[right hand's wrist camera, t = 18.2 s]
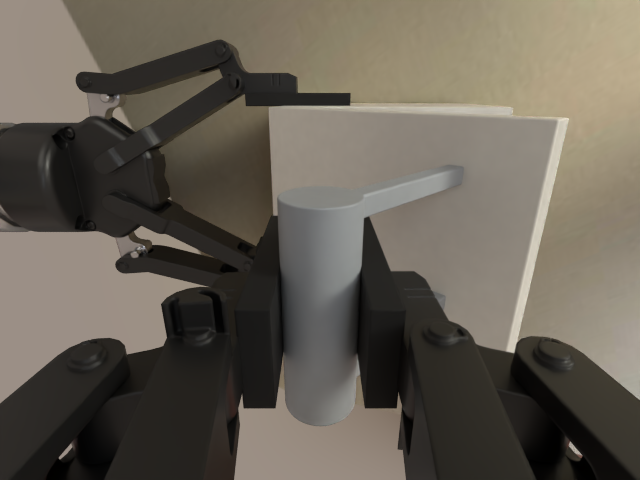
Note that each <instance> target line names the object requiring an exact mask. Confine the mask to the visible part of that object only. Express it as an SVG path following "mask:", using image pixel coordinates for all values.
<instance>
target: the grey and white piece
mask: <svg viewBox="0 0 640 480" xmlns="http://www.w3.org/2000/svg"><path fill="white" fill-rule="evenodd" d="M268 110H269V132H270V153H271V175H272V197H273V216H278V234H279V258H280V280H281V304H282V328H283V355H284V379H285V401H286V405H287V408H288V410H289V412H290V413H291V414H292V415H293V416H294V417H295V418H296V419H298V420H299V421H301V422H303V423H306V424H309V425H314V426H327V425H332V424H335V423H338V422H340V421H342V420H343V419H345V418H346V417H347V416H348V415H349V414H350V413H351V411H352V410H353V408H354V405H355V397H356V377H358V376H359V375H360V369H359V362H358V355H357V346H358V324H359V302H360V280H361V267H362V248H363V226H364V218H366V217H370V220H371V222H372V225H373V227H374V230H375V232H376V235H377V237H378V240H379V242H380V245H381V247H382V250H383V252H384V255H385V258H386V260H387V263H388V265H389V268H390V270H391V271H415V272H416V273H418V274H419V275H421V276H422V277H423V278H425V279H426V281H427V282H428V284H429V286H430V288H431V290H432V291H433V293H434V295H435V298H437V300H438V302H439V304H440V306H441V307H442V309H443V311H444V313H445V314H446V316H447V318H448V320H449V321H451V322H454V323H457V324H459V325H460V326H462V327H463V328H465V329H466V330H468V331H469V333H470V334H471V335H472V337H473V339H474V341H475V343H476V344H477V345H480V346H484V347H487V348H491V349H496V350H501V351H506V352H511V353H514V351H515V347H516V344H517V340H518V335H519V331H520V327H521V323H522V318H523V314H524V310H525V305H526V301H527V297H528V293H529V288H530V284H531V280H532V275H533V271H534V267H535V263H536V258H537V254H538V250H539V245H540V241H541V237H542V233H543V228H544V224H545V220H546V215H547V211H548V207H549V203H550V198H551V194H552V190H553V186H554V181H555V177H556V173H557V168H558V164H559V160H560V156H561V151H562V147H563V143H564V138H565V134H566V130H567V126H568V121H569V119H568V118H566V117H540V116H515V115H489V114H463V113H437V112H412V111H386V110H360V109H334V108H308V107H269V108H268Z"/></svg>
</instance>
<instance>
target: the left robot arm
mask: <svg viewBox="0 0 640 480" xmlns="http://www.w3.org/2000/svg"><path fill="white" fill-rule="evenodd" d="M217 69H220V72H221V74H222V76H223V78H222V79H220V80H219V81H217V82H215V83H214V84H212V85H211V86H209V87H208V88H206V89H205V90H203V91H202V92H200V93H198V94H197V95H195V96H194V97H192V98H191V99H189V100H188V101H186V102H184V103H183V104H181V105H180V106H178V107H177V108H175V109H174V110H172V111H171V112H169V113H167V114H166V115H164V116H163V117H161V118H160V119H158V120H157V121H155V122H154V123H152V124H150V125H149V126H147V127H144V128H142V129H140V130H139V131H137V132H135V131H133V130H132V129H130V128H129V127H127V126H126V125H124V124H123V123H121V122H120V121H118V120H117V119H115V118H114V117H112V113H113V110H114V109H115V108H117V107H121V106H123V105H124V104H125V103H126V100H127V97H126V95H132V94H140V93H144V92H147V91H150V90H154V89H157V88H160V87H163V86H166V85H170V84H173V83H176V82H179V81H182V80H185V79H189V78H192V77H195V76H198V75H201V74H204V73H208V72H211V71H214V70H217ZM76 84H77V86H78V88H79V89H80V90H82V91H83V92H86V93H87V97H88V104H89V112H90V117H88V118H86V119H85V120H83V121H82V122H79V123H21V124H13V123H0V232H28V231H37V232H88V231H99V232H103V233H105V234H108V235H110V236H112V237H115V238H116V241H117V245H118V248H119V251H120V255H121V258H120V259H119V260H117V261H116V264H115V265H116V268H117V270H118V271H119V272H121V273H139V272H150V273H154V274H159V275H163V276H167V277H171V278H175V279H179V280H183V281H187V282H192V283H196V284H200V285H204V286H208V287H211V286H212V285H213V283H214V281H215V280H216V279H217V278H219V277H220V276H222V275H223V274H225V273H226V272H249V271H250V269H251V266H252V264H253V261H254V258H255V256H256V253H257V251H258V248H259V246H260V243H261V241H262V238H263V237H261V238H260V241H259V243H258V244H257V246H254V245H252V244H250V243H248V242H246V241H244V240H242V239H241V238H239V237H237V236H235V235H233V234H231V233H229V232H227V231H225V230H223V229H221V228H219V227H217V226H215V225H213V224H211V223H209V222H207V221H205V220H203V219H201V218H199V217H197V216H195V215H193V214H191V213H189V212H187V211H185V210H184V209H183V207H182V206H181V205H179V204H177V203H175V202H173V201H171V200H169V199H168V198H169V197H170V191H169V186H168V183H167V181H166V179H165V176H164V174H165V166H166V164H165V158H164V154H161V153H160V151H159V150H158V149H159V148H161V147H162V146H164V145H165V144H167V143H169V142H170V141H172V140H173V139H174V138H175V137H177V136H178V135H180V134H182V133H183V132H185V131H186V130H188V129H190V128H191V127H193V126H194V125H196V124H197V123H199V122H201V121H202V120H204V119H205V118H207V117H209V116H210V115H212V114H213V113H215V112H217V111H218V110H220V109H221V108H223V107H225V106H226V105H228V104H229V103H231V102H232V101H234V100H236V99H237V98H239V97H240V96H242V95H244V94H245V99H246V106H350V93H298V84H297V77H296V76H293V75H291V74H289V73H248V72H247V71H246V70H245V69H244V68H243V66H242V63H241V61H240V58H239V54H238V51H237V49H236V48H235V47H234V46H233V45H231V44H229V43H227V42H225V41H223V40H216V41H213V42H210V43H206V44H203V45H200V46H197V47H194V48H191V49H188V50H185V51H182V52H179V53H175V54H172V55H169V56H166V57H163V58H160V59H157V60H154V61H151V62H148V63H145V64H141V65H138V66H135V67H132V68H129V69H126V70H123V71H120V72H117V73H114V74H106V73H93V72H80V73H79V74H77V76H76ZM140 226H143V227H145V228H147V229H150V230H152V231H154V232H156V233H159V234H167V235H170V236H172V237H174V238H176V239H178V240H180V241H182V242H184V243H186V244H188V245H190V246H192V247H194V248H196V249H198V250H200V251H202V252H204V253H206V254H209V255H211V256H213V257H215V258H212V257H208V256H204V255H200V254H196V253H192V252H188V251H184V250H180V249H176V248H172V247H167V246H161V245H152V242H151V241H150V240H144V239H140V238H138V237H137V236H136V235H135V233H134V231H135V230H136V229H137V228H139V227H140ZM216 258H217V259H216Z"/></svg>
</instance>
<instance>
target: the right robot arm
mask: <svg viewBox="0 0 640 480" xmlns="http://www.w3.org/2000/svg"><path fill="white" fill-rule="evenodd" d="M161 306H162V312H163V318H164V323H165V329H166V334H167V339H166V341H165V344H164V346H162V347H159V348H156V349H152V350H147V351H142V352H138V353H133V354H128V355H127V354H126V349H125V345H124V344H123V343H122V342H120V341H119V340H116V339H112V338H100V339H92V340H88V341H84V342H81V343H80V344H77V345H75V346H73V347H70V348H68V349H67V350H65V351H64V352H62V353H61V354H59V355H58V356H57V357H55V358H54V359H53V360H52V361H51V362H49V363H48V364H47V365H46V366H45V367H43V368H42V369H41V370H40V371H39V372H37V373H36V374H35V375H34V376H33V377H31V378H30V379H29V380H28V381H27V382H25V383H24V384H23V385H22V386H21V387H19V388H18V389H17V390H16V391H15V392H14V393H12V394H11V395H10V396H9V397H8V398H6V399H5V400H4V401H3V402H2V403H0V480H234V474H235V465H236V455H237V447H238V437H239V428H240V422H239V412H238V407H239V403H240V399H241V395H242V396H243V406H244V408H275V407H276V400H277V393H278V386H279V379H280V372H281V365H282V358H283V328H282V304H281V280H280V258H279V234H278V216H271V218H270V220H269V223H268V225H267V228H266V231H265V233H264V236H263V238H262V241H261V243H260V246H259V248H258V251H257V253H256V256H255V258H254V261H253V264H252V266H251V269H250V271H249V272H226V273H225V274H223V275H222V276H220V277H219V278H217V279H216V280H215V281H214V283H213V285H212V286H211V287H196V288H189V289H185V290H182V291H179V292H176V293H174V294H173V295H171V296H169V297H167V298H166V299H165V300H164V301H163V303H162V304H161ZM357 355H358V362H359V369H360V377H361V384H362V391H363V398H364V405H365V408H397V400H398V392H399V396H400V400H401V403H402V412H401V422H400V431H399V441H398V449H399V450H403V455H404V464H405V473H406V480H640V400H639V399H637V398H636V397H635V396H634V395H633V394H631V393H630V392H629V391H628V390H627V389H625V388H624V387H623V386H622V385H620V384H619V383H618V382H617V381H616V380H614V379H613V378H612V377H611V376H610V375H608V374H607V373H606V372H605V371H604V370H602V369H601V368H600V367H599V366H597V365H596V364H595V363H594V362H593V361H591V360H590V359H589V358H588V357H587V356H585V355H584V354H583V353H581V352H580V351H578V350H577V349H575V348H574V347H572V346H570V345H568V344H565V343H563V342H561V341H559V340H556V339H550V338H548V337H534V336H531V337H527V338H522V339H521V340H520V341H519V342H518V343H517V344H516V347H515V351H514V353H511V352H506V351H501V350H496V349H491V348H487V347H484V346H480V345H477V344H476V343H475V341H474V339H473V337H472V335H471V334H470V333H469V331H468V330H466V329H465V328H463V327H462V326H460V325H459V324H457V323H454V322H451V321H449V320H448V318H447V316H446V314H445V313H444V311H443V309H442V307H441V306H440V304H439V302H438V300H437V298H435V295H434V293H433V291H432V290H431V288H430V286H429V284H428V282H427V281H426V279H425V278H423V277H422V276H421V275H419V274H418V273H416V272H415V271H391V270H390V268H389V265H388V263H387V260H386V258H385V255H384V252H383V250H382V247H381V245H380V242H379V240H378V237H377V235H376V232H375V230H374V227H373V225H372V222H371V220H370V217H366V218H364V226H363V248H362V267H361V280H360V302H359V324H358V346H357ZM570 441H571V443H572V444H573V445H574V446H575V447H576V448H577V450H578V451H579V452H580V453H581V454H582V455H583V456H582V458H579V457H578V456H577V455H576V454H575V453H574V452H573V451H572V449H571V448H570V447H569V446H568V445H569V442H570ZM70 444H72V448H71V450H70V451H69V452H68V453H67V454H66V455H65V456H64V457H63V458H62V459H59V456H60V455H61V454H62V453H63V452H64V451H65V449H66V448H67V447H68V446H69V445H70Z"/></svg>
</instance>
